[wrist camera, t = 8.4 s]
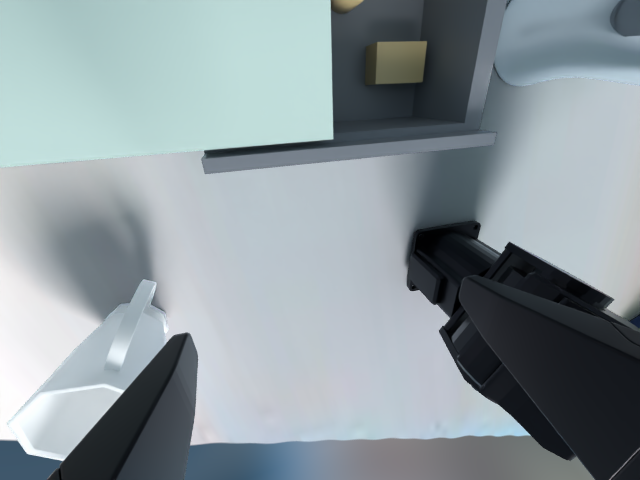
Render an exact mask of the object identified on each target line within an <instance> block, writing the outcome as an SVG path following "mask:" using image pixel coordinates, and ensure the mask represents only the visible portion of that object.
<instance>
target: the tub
mask: <svg viewBox="0 0 640 480" xmlns="http://www.w3.org/2000/svg"><path fill="white" fill-rule="evenodd" d="M506 3H507V0H331V49H332V100H333V139H332V140H320V141H308V142H296V143H285V144H273V145H261V146H249V147H237V148H226V149H214V150H204V152H205V154H204V156H203V157H202V159H201V160H202V164H203V168H204V172H205V174H211V173H221V172H231V171H241V170H251V169H261V168H271V167H280V166H290V165H300V164H310V163H320V162H330V161H340V160H350V159H360V158H370V157H380V156H390V155H400V154H410V153H420V152H430V151H440V150H450V149H460V148H469V147H479V146H489V145H494V143H495V138H496V134H497V132H490V131H483V130H479V129H480V124H481V119H482V115H483V110H484V105H485V101H486V96H487V91H488V87H489V82H490V78H491V73H492V68H493V64H494V59H495V54H496V50H497V45H498V40H499V36H500V31H501V26H502V22H503V17H504V12H505V8H506Z"/></svg>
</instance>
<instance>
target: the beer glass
mask: <svg viewBox="0 0 640 480" xmlns="http://www.w3.org/2000/svg"><path fill="white" fill-rule="evenodd" d="M494 64H495V68H496V70H497V73H498V74H499V76H500V77H501V79H502V80H503V81H504V82H506V83H507V84H510V85H513V86H527V85H532V84H536V83H540V82H544V81H548V80H553V79H558V78H588V79H597V80H604V81H610V82H617V83H623V84H630V85H637V86H640V0H511V1H510V3H509V4H508V6H507V8H506V9H505V12H504V17H503V22H502V26H501V31H500V36H499V40H498V45H497V50H496V54H495V59H494Z"/></svg>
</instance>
